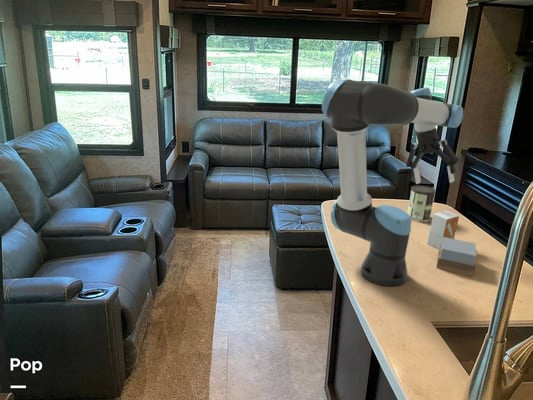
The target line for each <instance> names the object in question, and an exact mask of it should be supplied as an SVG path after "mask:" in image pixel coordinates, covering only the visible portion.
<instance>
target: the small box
mask: <svg viewBox="0 0 533 400" xmlns="http://www.w3.org/2000/svg"><path fill="white" fill-rule="evenodd" d="M459 219H460V215H458V214H455V213H452V212H450V211H447V210H443V211H439V212H435V213H433V214H432V219H431V224H430V229H429V233H428V237H427V238H428V239H427V242H426V244H427V245H429V246H431V247H434V248H435V249H438V250H439V248H440V246H441V245H442V240H443V237H446V238H451V239H455V236H456V231H457V227H458V223H459Z"/></svg>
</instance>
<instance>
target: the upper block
mask: <svg viewBox="0 0 533 400" xmlns="http://www.w3.org/2000/svg"><path fill="white" fill-rule="evenodd" d="M440 259H443V260H447V261H452V262H457V263H461V264H466V265H471V266H474V264H475V265H476V259H477V247H476V243H475V242H470V241H467V240H466V241H465V240H460V239H456V238H454V239H451V238H446V237H443V240H442V245H441V253H440Z"/></svg>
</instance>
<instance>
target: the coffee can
mask: <svg viewBox="0 0 533 400" xmlns="http://www.w3.org/2000/svg"><path fill="white" fill-rule="evenodd" d="M410 188H411V189H410V197H409V201H408V208H407V212H406V213H407V214H408V215H409V216H410V218H411V221H415V222H420V223H427V222H429V221H430V220H431V219H430V218H431V213H432V209H433V203H434V198H435V194H436V189H434V188H432V187H430V186H426V185H412V186H411V187H410Z"/></svg>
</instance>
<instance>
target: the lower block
mask: <svg viewBox="0 0 533 400" xmlns="http://www.w3.org/2000/svg"><path fill="white" fill-rule="evenodd" d="M440 253H441V246H440V248H439V249H438V254H437V262H436V267H435V268H436V269H440V270H445V271H449V272H453V273H456V274H457V273H458V274H461V275H465V276H466V275H467V276H471V277H473V276H474V273H475V270H476V263H475V264H474V266H471V265H466V264H461V263H457V262H452V261H447V260H443V259H440Z"/></svg>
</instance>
